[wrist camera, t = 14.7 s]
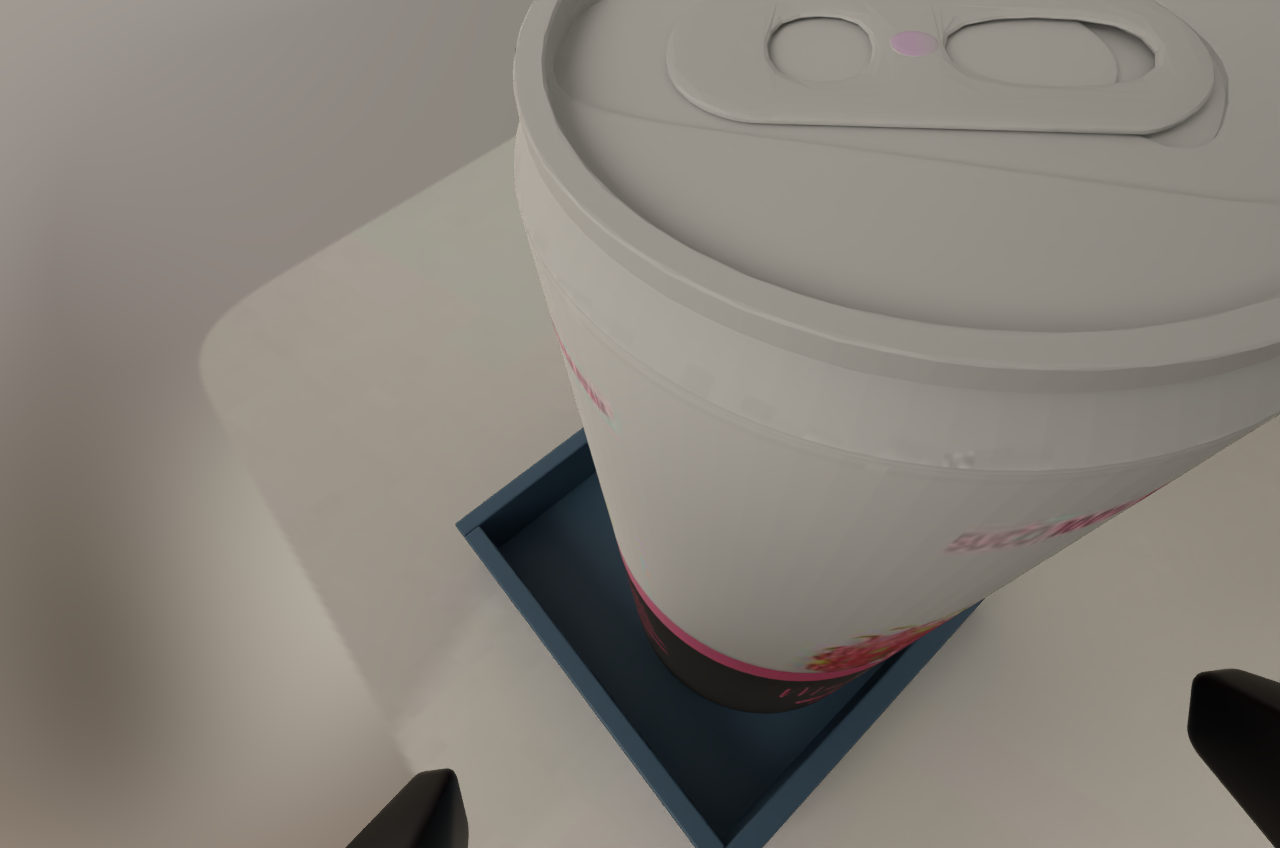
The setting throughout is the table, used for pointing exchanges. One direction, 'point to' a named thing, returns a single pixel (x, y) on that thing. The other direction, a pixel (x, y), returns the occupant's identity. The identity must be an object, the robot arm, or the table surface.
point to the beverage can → (892, 295)
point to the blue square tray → (638, 680)
